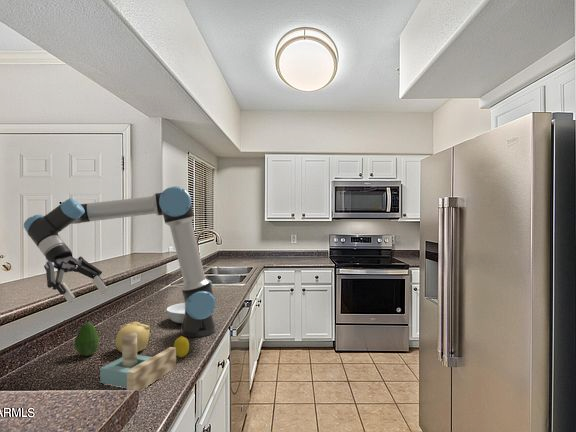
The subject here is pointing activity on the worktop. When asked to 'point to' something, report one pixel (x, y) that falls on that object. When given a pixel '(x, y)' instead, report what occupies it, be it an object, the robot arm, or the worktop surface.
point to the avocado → (87, 340)
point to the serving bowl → (176, 312)
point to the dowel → (129, 350)
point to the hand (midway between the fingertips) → (89, 295)
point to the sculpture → (134, 327)
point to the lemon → (181, 346)
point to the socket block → (118, 372)
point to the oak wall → (151, 369)
